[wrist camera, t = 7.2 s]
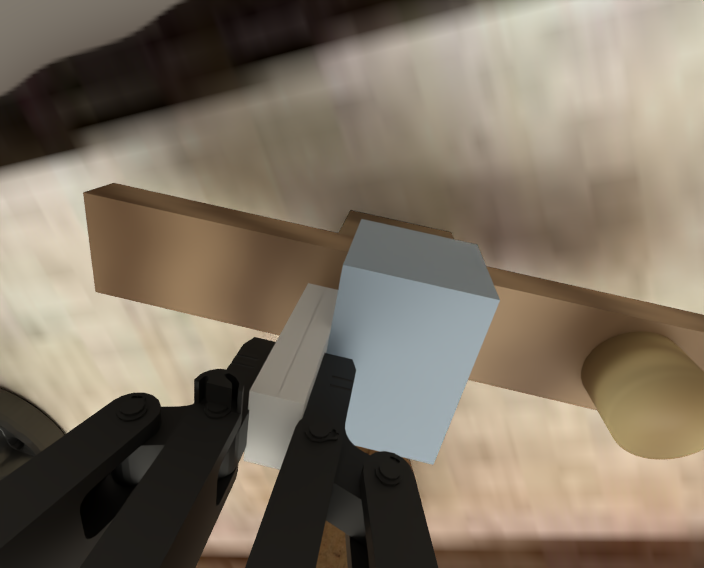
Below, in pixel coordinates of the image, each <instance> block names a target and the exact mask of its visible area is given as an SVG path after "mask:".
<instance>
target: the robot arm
mask: <svg viewBox="0 0 704 568" xmlns="http://www.w3.org/2000/svg"><path fill="white" fill-rule="evenodd" d="M337 294H338V290H336V289H332V288H327V287H323V286H319V285H314V284H310V283H308V284H307V286H306V288H305V290H304V292H303V294H302V295H301V297H300V299H299V301H298V303H297V305H296V306H295V308H294V310H293V312H292V314H291V316H290V317H289V319H288V321H287V323H286V325H285V327H284V328H283V330H282V332H281V334H280V336H279V338H278V339H277V341H276V342H273V341H269V340H265V339H260V338H256V337H254V338H253V339H251V340H249V341H248V342H246V343H245V344H243V346H242V347H241V349H240V350H239V352H238V353H237V356H235V358H234V359H233V361H232V363H231V364H230V365H229V367H228V368H227V370H225V369H215V370H209V371H207V372H204V373H202V374H200V375H199V376H198V377H197V378H196V379H195V380H194V404H192V405H188V406H179V407H161V406H160V403H159V400H158V399H157V398H156V397H154V396H153V395H150V394H147V393H131V394H127V395H123V396H121V397H119V398H117V399H115V400H113V401H112V402H111V403H109V404H108V405H106V406H105V407H103V408H102V409H101V410H99V411H98V412H96V413H95V414H94V415H92V416H91V417H89V418H88V419H87V420H85V421H84V422H82V423H81V424H79V425H78V426H77V427H75V428H74V429H72V430H71V431H70V432H68V433H67V434H65V435H64V434H63V432H62V431H61V430H60V429H59V428H58V427H57V426H56V425H55V424H54V423H53V422H52V421H51V420H50V419H49V418H48V417H47V416H46V415H44V414H43V413H42V412H41V411H39V410H38V409H37V408H35V407H34V406H32V405H31V404H29V403H28V402H26V401H24V400H23V399H21V398H19V397H17V396H16V395H14V394H12V393H9V392H7V391H5V390H3V389H0V568H79V567H80V568H195V567H196V565H197V563H198V560H199V558H200V556H201V554H202V552H203V549H204V547H205V545H206V543H207V541H208V538H209V536H210V534H211V532H212V530H213V527H214V525H215V523H216V521H217V519H218V517H219V514H220V512H221V510H222V508H223V506H224V503H225V501H226V499H227V497H228V495H229V492H230V490H231V488H232V486H233V484H234V481H235V479H236V476H237V472H238V463H239V461H240V459H241V456H242V454H243V452H244V461H247V462H251V463H255V464H259V465H263V466H267V467H271V468H275V469H279V470H280V471H279V474H278V477H277V480H276V482H275V485H274V488H273V491H272V494H271V497H270V499H269V502H268V505H267V508H266V511H265V513H264V516H263V519H262V522H261V525H260V528H259V530H258V533H257V536H256V539H255V542H254V544H253V547H252V550H251V553H250V556H249V558H248V561H247V564H246V567H245V568H316V565H317V560H318V555H319V550H320V546H321V541H322V536H323V531H324V526H325V521H328V522H329V523H331V524H332V525H334V526H335V527H337V528H338V529H340V530H341V531H343V532H344V533H345V540H346V552H347V565H348V568H438V565H437V561H436V557H435V553H434V549H433V546H432V542H431V538H430V534H429V530H428V526H427V522H426V519H425V515H424V511H423V507H422V503H421V499H420V495H419V492H418V488H417V484H416V480H415V476H414V473H413V471H412V469H411V467H410V465H409V464H408V463H407V462H406V461H405V460H404V459H403V458H402V457H400V456H399V455H397V454H395V453H392V452H387V451H380V452H375V453H373V454H372V455H369V454H367V453H365V452H363V451H362V450H360V449H359V448H357V447H356V446H355V445H354V444H353V443H352V442H351V441H350V440H349V438H348V436H347V434H346V430H345V423H346V418H347V413H348V408H349V403H350V398H351V393H352V389H353V384H354V379H355V374H356V368H355V365H354V362H353V359H349V358H345V357H341V356H337V355H332V354H328V353H326V351H327V346H328V341H329V336H330V330H331V325H332V320H333V315H334V309H335V304H336V299H337Z"/></svg>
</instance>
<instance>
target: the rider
mask: <svg viewBox="0 0 704 568" xmlns="http://www.w3.org/2000/svg"><path fill="white" fill-rule="evenodd" d="M499 302H500V299H499V296H498V294H497V292H496V289H495V287H494V284H493V282H492V279H491V277H490V274H489V272H488V269H487V267H486V265H485V262H484V260H483V257H482V255H481V252H480V250H479V247H478V245H477V244H472V243H468V242H463V241H459V240H454V239H450V238H445V237H441V236H436V235H432V234H427V233H423V232H418V231H414V230H409V229H405V228H400V227H396V226H391V225H387V224H382V223H378V222H373V221H369V220H364V219H361V221H360V224H359V226H358V229H357V231H356V234H355V236H354V239H353V241H352V244H351V246H350V249H349V251H348V254H347V256H346V259H345V261H344V263H343V267H342V273H341V278H340V283H339V288H338V294H337V299H336V304H335V309H334V315H333V320H332V325H331V330H330V336H329V341H328V346H327V351H326V353H328V354H332V355H337V356H341V357H345V358H349V359H353V362H354V365H355V368H356V374H355V379H354V384H353V389H352V393H351V398H350V403H349V408H348V413H347V418H346V423H345V430H346V434H347V436H348V438H349V440H350V441H351V442H352V443H353V444H354V445H355V446H359V447H363V448H367V449H371V450H376V451H387V452H392V453H395V454H397V455H399V456H400V457H404V458H408V459H412V460H416V461H420V462H424V463H428V464H432V465H433V464H434V462H435V459H436V457H437V454H438V452H439V450H440V447H441V445H442V442H443V440H444V437H445V435H446V432H447V430H448V427H449V425H450V422H451V420H452V417H453V415H454V413H455V410H456V408H457V405H458V403H459V400H460V398H461V395H462V393H463V390H464V388H465V385H466V383H467V381H468V378H469V376H470V373H471V371H472V368H473V366H474V363H475V361H476V358H477V356H478V353H479V351H480V349H481V346H482V344H483V341H484V339H485V336H486V334H487V331H488V329H489V326H490V324H491V321H492V319H493V316H494V314H495V312H496V309H497V307H498V304H499Z"/></svg>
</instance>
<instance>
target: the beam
mask: <svg viewBox="0 0 704 568" xmlns="http://www.w3.org/2000/svg"><path fill="white" fill-rule="evenodd" d="M83 195H84V203H85V211H86V219H87V227H88V235H89V243H90V251H91V259H92V267H93V275H94V283H95V291H96V292H98V293H103V294H107V295H111V296H115V297H120V298H124V299H128V300H132V301H136V302H141V303H145V304H149V305H153V306H158V307H162V308H166V309H170V310H175V311H179V312H183V313H187V314H192V315H196V316H200V317H204V318H208V319H213V320H217V321H221V322H225V323H230V324H234V325H238V326H242V327H247V328H251V329H255V330H259V331H264V332H268V333H272V334H276V335H280V334H281V332H282V330H283V328H284V327H285V325H286V323H287V321H288V319H289V317H290V316H291V314H292V312H293V310H294V308H295V306H296V305H297V303H298V301H299V299H300V297H301V295H302V294H303V292H304V290H305V288H306V286H307V284H308V283H310V284H314V285H319V286H323V287H327V288H332V289H336V290H338V288H339V283H340V278H341V273H342V267H343V263H344V261H345V259H346V256H347V254H348V251H349V249H350V246H351V244H352V241H353V239H354V236H355V234H356V231H357V229H358V226H359V224H360V221H361V219H364V220H369V221H373V222H378V223H382V224H387V225H391V226H396V227H400V228H405V229H409V230H414V231H418V232H423V233H427V234H432V235H436V236H441V237H445V238H450V239H454V238H453V235H452V233H451V232H447V231H442V230H438V229H433V228H429V227H424V226H420V225H415V224H411V223H406V222H402V221H397V220H393V219H388V218H383V217H379V216H374V215H370V214H365V213H361V212H356V211H352V210H350V212H349V214H348V216H347V218H346V220H345V222H344V224H343V226H342V228H341V230H340V232H339V233H335V232H331V231H326V230H322V229H317V228H313V227H308V226H304V225H299V224H295V223H291V222H286V221H282V220H277V219H273V218H268V217H264V216H259V215H255V214H250V213H246V212H241V211H237V210H232V209H228V208H224V207H219V206H215V205H210V204H206V203H201V202H197V201H192V200H188V199H183V198H179V197H174V196H170V195H165V194H161V193H156V192H152V191H148V190H143V189H139V188H134V187H130V186H125V185H121V184H116V183H112V184H109V185H106V186H102V187H99V188H96V189H93V190H90V191H86V192H83ZM486 267H487V266H486ZM487 269H488V272H489V274H490V277H491V279H492V282H493V284H494V287H495V289H496V292H497V294H498V296H499V299H500V302H499V304H498V307H497V309H496V312H495V314H494V316H493V319H492V321H491V324H490V326H489V329H488V331H487V334H486V336H485V339H484V341H483V344H482V346H481V349H480V351H479V353H478V356H477V358H476V361H475V363H474V366H473V368H472V371H471V373H470V376H469V378H468V380H471V381H475V382H480V383H484V384H488V385H492V386H496V387H501V388H505V389H509V390H513V391H518V392H522V393H526V394H530V395H535V396H539V397H543V398H547V399H552V400H556V401H560V402H564V403H568V404H573V405H577V406H581V407H585V408H590V409H594V410H598V412H599V414H600V416H601V417H602V419H603V421H604V423H605V424H606V426H607V428H608V430H609V431H610V433H611V435H612V437H613V438H614V440H615V441H616V443H617V444H618V445H619V446H620V447H621V448H623V449H624V450H626V451H627V452H629V453H631V454H634V455H636V456H640V457H643V458H649V459H674V458H680V457H684V456H688V455H691V454H694V453H696V452H699V451H701V450H703V449H704V315H702V314H697V313H693V312H688V311H684V310H679V309H675V308H670V307H666V306H662V305H657V304H653V303H648V302H644V301H639V300H635V299H630V298H626V297H621V296H617V295H612V294H608V293H603V292H599V291H595V290H590V289H586V288H581V287H577V286H572V285H568V284H563V283H559V282H554V281H550V280H545V279H541V278H536V277H532V276H527V275H523V274H519V273H514V272H510V271H505V270H501V269H496V268H492V267H487Z"/></svg>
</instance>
